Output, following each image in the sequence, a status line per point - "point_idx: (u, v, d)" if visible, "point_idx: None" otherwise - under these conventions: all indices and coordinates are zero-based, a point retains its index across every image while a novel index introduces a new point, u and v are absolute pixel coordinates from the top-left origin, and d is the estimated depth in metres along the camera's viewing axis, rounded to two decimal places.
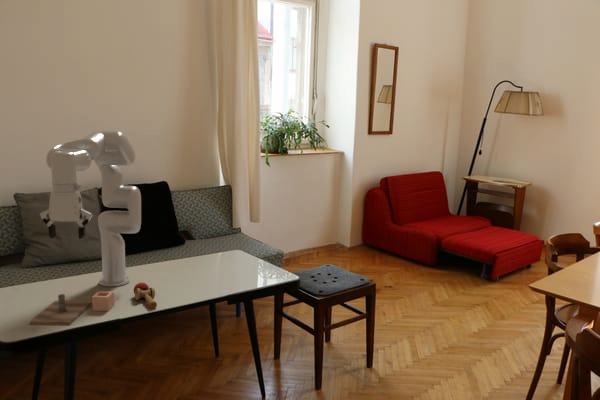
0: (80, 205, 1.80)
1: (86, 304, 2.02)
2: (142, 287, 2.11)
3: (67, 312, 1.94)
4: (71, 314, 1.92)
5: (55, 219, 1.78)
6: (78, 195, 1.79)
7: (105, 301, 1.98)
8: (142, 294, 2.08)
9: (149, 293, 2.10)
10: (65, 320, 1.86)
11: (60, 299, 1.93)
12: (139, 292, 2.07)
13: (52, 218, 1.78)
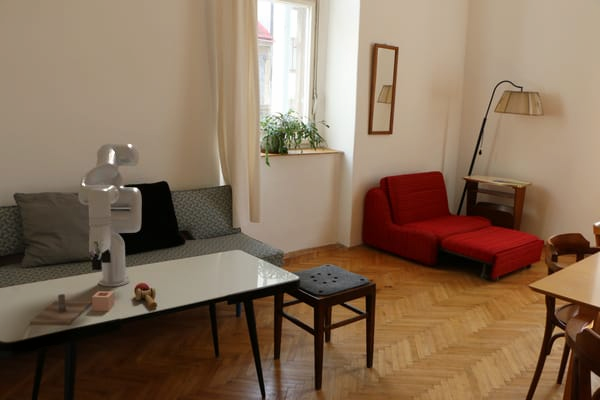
0: None
1: (86, 304, 2.02)
2: (143, 287, 2.11)
3: (67, 312, 1.94)
4: (71, 314, 1.92)
5: (103, 250, 1.94)
6: None
7: (105, 301, 1.98)
8: (142, 294, 2.08)
9: (150, 293, 2.10)
10: (65, 320, 1.86)
11: (60, 299, 1.93)
12: (139, 292, 2.07)
13: (103, 250, 1.93)
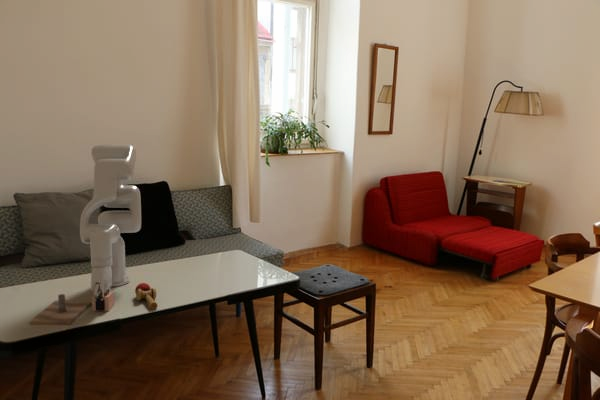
0: None
1: (86, 304, 2.02)
2: (143, 288, 2.11)
3: (67, 312, 1.94)
4: (71, 314, 1.92)
5: (105, 290, 1.97)
6: None
7: (105, 301, 1.98)
8: (143, 295, 2.08)
9: (150, 294, 2.09)
10: (65, 320, 1.86)
11: (60, 299, 1.93)
12: (140, 293, 2.07)
13: (104, 290, 1.96)
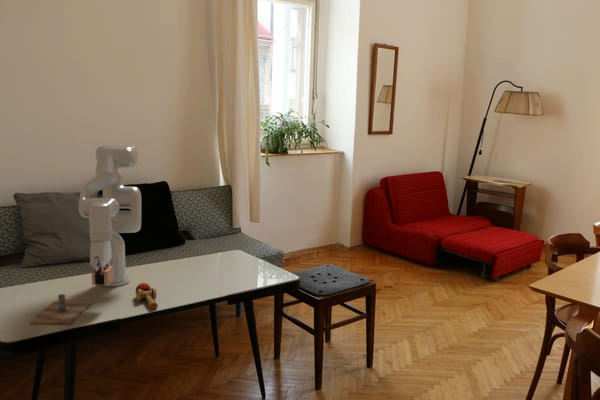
0: None
1: (86, 304, 2.02)
2: (144, 288, 2.11)
3: (67, 312, 1.94)
4: (71, 314, 1.92)
5: (104, 264, 1.96)
6: None
7: (104, 275, 1.97)
8: (143, 295, 2.08)
9: (150, 294, 2.09)
10: (65, 320, 1.86)
11: (60, 299, 1.93)
12: (140, 293, 2.07)
13: (104, 264, 1.95)
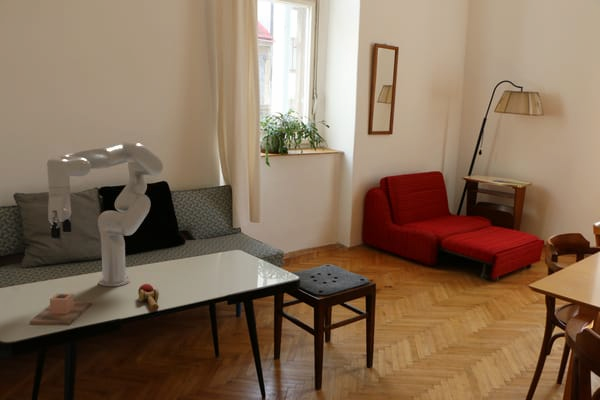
0: None
1: (86, 304, 2.02)
2: (146, 289, 2.10)
3: None
4: (71, 314, 1.92)
5: (63, 219, 2.01)
6: None
7: (63, 303, 1.92)
8: (145, 296, 2.07)
9: (153, 295, 2.08)
10: (65, 320, 1.86)
11: None
12: (142, 294, 2.06)
13: (61, 219, 2.00)
